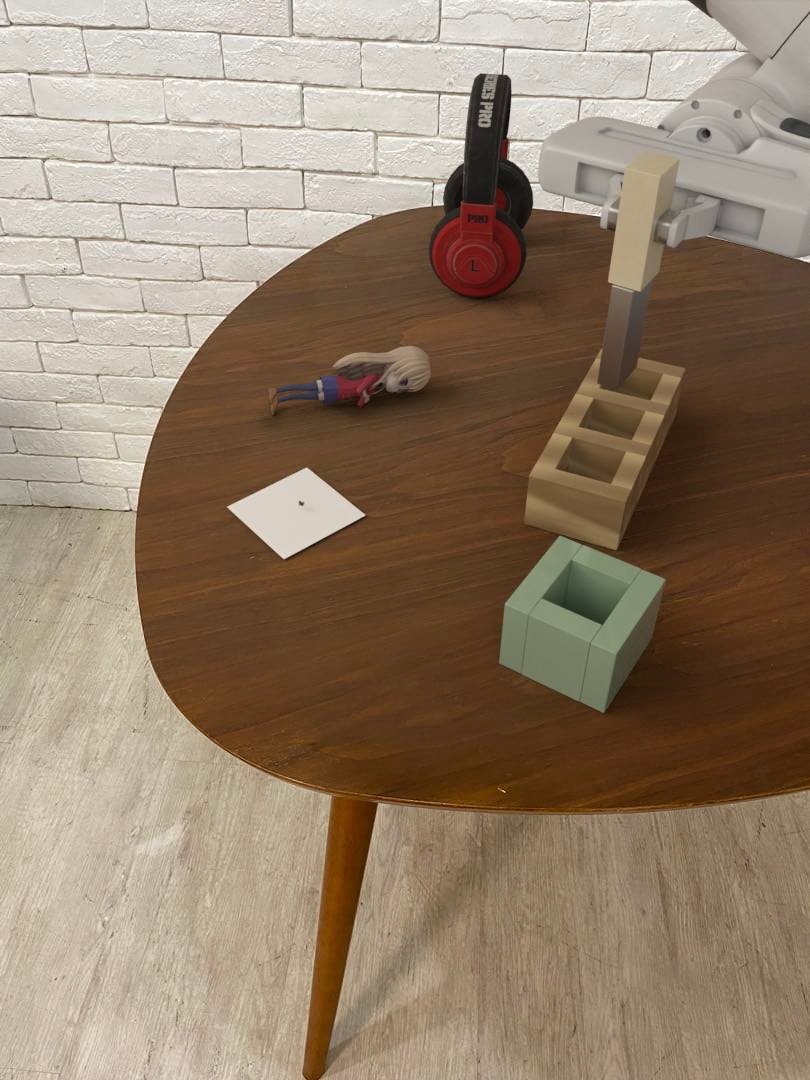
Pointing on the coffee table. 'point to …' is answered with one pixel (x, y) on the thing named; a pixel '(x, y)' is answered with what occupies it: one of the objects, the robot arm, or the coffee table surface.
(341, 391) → the figurine
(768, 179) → the robot arm
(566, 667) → the holder
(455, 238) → the headphones
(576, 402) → the rack
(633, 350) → the knife
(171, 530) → the coffee table surface
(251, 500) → the white flat sheet
